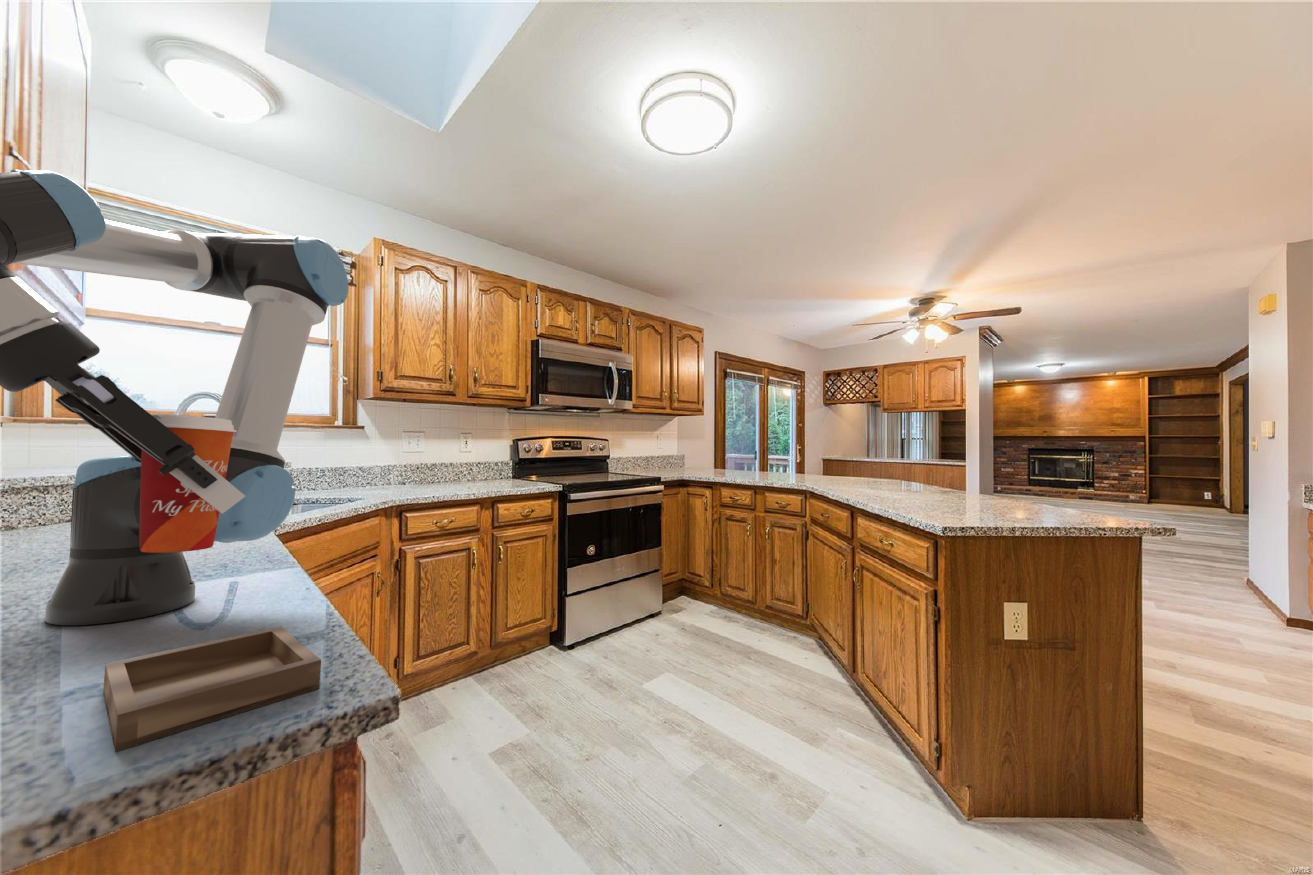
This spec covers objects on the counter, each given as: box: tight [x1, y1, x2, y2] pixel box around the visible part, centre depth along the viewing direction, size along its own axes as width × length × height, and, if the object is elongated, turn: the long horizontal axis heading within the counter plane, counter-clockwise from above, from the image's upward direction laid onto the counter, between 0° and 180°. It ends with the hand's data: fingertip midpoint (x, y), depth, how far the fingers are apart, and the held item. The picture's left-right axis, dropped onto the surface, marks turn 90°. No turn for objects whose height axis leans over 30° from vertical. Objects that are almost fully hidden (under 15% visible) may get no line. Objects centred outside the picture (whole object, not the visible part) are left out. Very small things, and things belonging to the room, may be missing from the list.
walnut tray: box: [102, 626, 322, 752], centre depth 50 cm, size 14×14×3 cm
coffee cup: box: [140, 413, 237, 553], centre depth 55 cm, size 8×8×15 cm
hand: (221, 501), depth 58 cm, fingers closed on coffee cup, 8 cm apart
